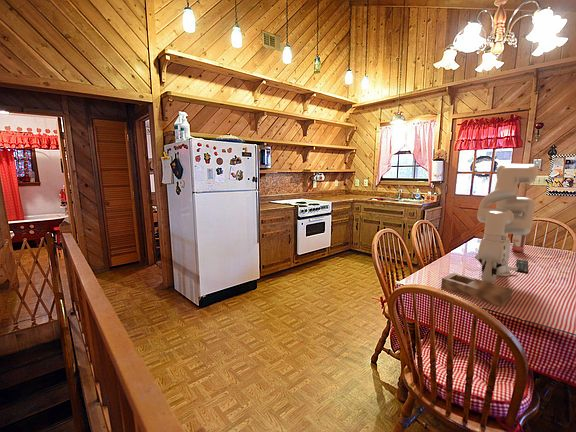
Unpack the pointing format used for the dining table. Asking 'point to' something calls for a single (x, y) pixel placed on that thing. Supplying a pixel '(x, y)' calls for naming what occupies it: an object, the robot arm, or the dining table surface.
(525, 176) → the robot arm
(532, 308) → the dining table surface
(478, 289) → the caddy
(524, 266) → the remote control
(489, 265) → the salt shaker
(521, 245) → the liquor
